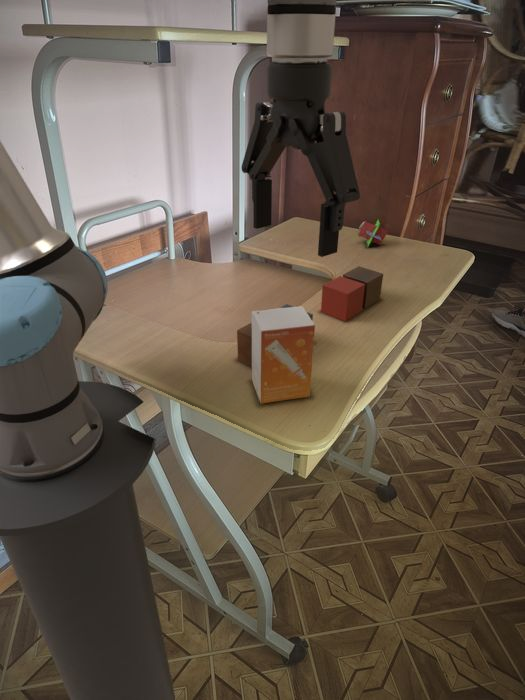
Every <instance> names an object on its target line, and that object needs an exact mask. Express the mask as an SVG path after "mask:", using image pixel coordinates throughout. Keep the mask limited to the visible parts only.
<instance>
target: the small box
mask: <svg viewBox="0 0 525 700" xmlns="http://www.w3.org/2000/svg"><path fill="white" fill-rule="evenodd" d="M307 312H308V311H307V309H306V308H305V307H304V306H303V305H299V306H293V307H288V308H280V307H276V308H270V309H269V308H268V309H262V310H252V311H251V323H252V367H251V380H252V384H253V387H254V389H255V392H256V395H257V398H258V401H259V402H260V405H261V404H262V405H263V404H267V403H273V402H282V401H287V400H294V399H295V400H296V399H303V398H309V397H311V387H312V385H311V384H312V373H313V372H312V371H313V360H314V359H313V357H314V346H315V345H314V344H315V331H316V325H315V323H314V321H313V320H311V318H310V317H309V315H308V314H307Z"/></svg>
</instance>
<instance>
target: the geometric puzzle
mask: <svg viewBox="0 0 525 700" xmlns="http://www.w3.org/2000/svg"><path fill="white" fill-rule="evenodd" d="M370 221H372V220H369V221H367V220H365V221H363V222H362V223H361V224H360V225H359V227H358V231H359V232H357V233H358V234H357V237H359V238H360V240H362V241H365V242H366V246H367V247H372V245H371V244H372V243H373V245H375V246H381V245H382V243H383V241H384V240H385V238H386V236H387V234H388V232H389V230H388V229H386V228H384V227H385V225H383V224H382V225H381V222H380V219H379V218H378V219H377V220H376V222H375V224H374V223H373V222H370ZM381 226H382V227H381Z"/></svg>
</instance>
